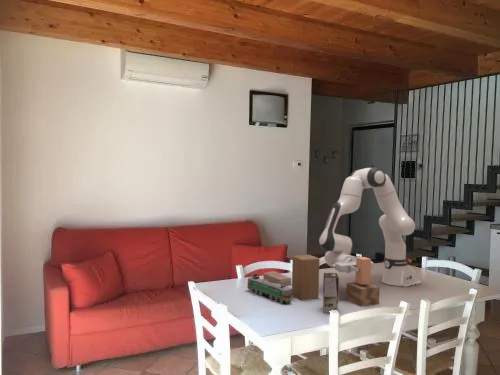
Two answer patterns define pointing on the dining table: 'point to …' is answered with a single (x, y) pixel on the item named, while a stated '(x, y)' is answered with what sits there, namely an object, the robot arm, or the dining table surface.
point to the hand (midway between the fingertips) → (364, 269)
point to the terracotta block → (363, 270)
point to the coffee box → (330, 292)
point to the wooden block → (305, 277)
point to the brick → (277, 278)
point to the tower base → (362, 294)
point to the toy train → (269, 289)
